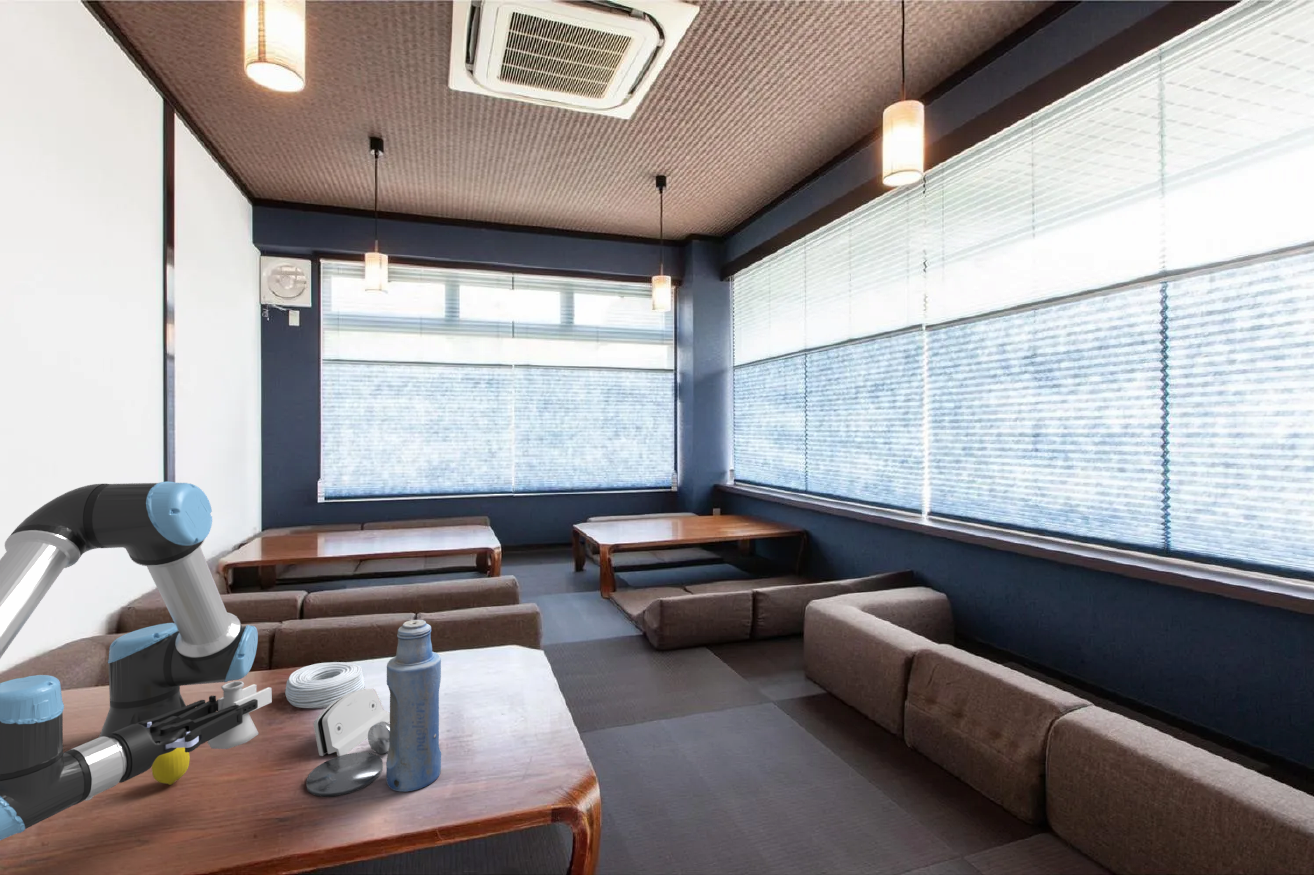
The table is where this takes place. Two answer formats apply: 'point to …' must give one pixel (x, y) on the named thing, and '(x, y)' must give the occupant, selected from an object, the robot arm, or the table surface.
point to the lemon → (171, 766)
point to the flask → (240, 732)
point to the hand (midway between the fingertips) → (262, 693)
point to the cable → (323, 684)
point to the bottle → (414, 710)
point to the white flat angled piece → (348, 721)
